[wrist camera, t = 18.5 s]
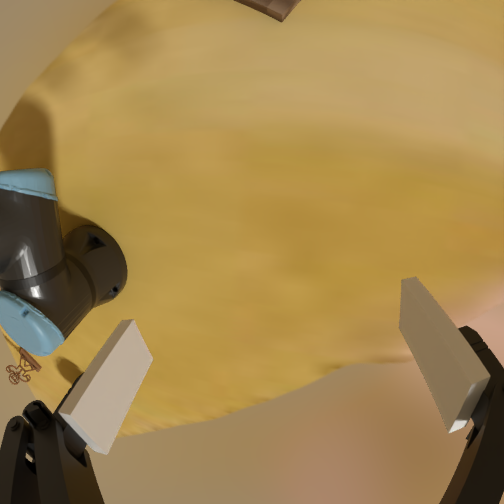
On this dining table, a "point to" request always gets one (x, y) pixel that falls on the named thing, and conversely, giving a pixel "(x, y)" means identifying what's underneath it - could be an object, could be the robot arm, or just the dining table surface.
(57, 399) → the dining table surface
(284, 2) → the brown square frame
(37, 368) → the brown scrollwork stand
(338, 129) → the dining table surface
